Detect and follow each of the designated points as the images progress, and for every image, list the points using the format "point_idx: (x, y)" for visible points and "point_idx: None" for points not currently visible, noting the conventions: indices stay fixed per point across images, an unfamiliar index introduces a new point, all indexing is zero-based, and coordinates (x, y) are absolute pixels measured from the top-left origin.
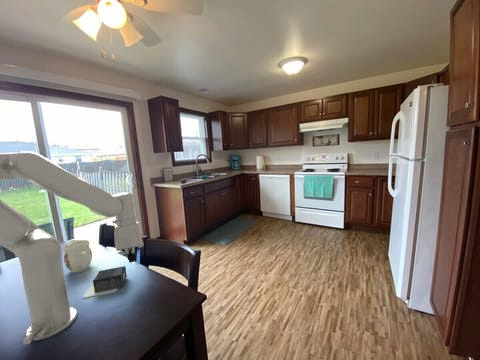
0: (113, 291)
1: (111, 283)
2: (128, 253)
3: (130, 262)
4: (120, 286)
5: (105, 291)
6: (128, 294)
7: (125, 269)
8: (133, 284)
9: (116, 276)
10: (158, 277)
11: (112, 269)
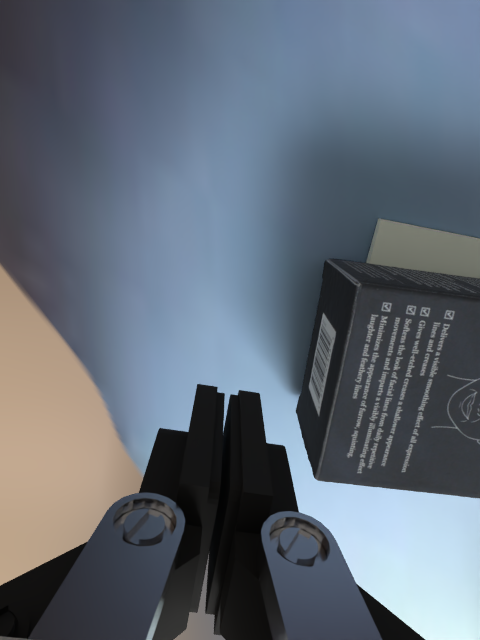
0: (401, 225)
1: (437, 280)
2: (267, 523)
3: (243, 392)
4: (345, 261)
5: (464, 265)
6: (273, 111)
7: (310, 448)
8: (236, 265)
9: (410, 288)
10: (14, 264)
11: (449, 470)
